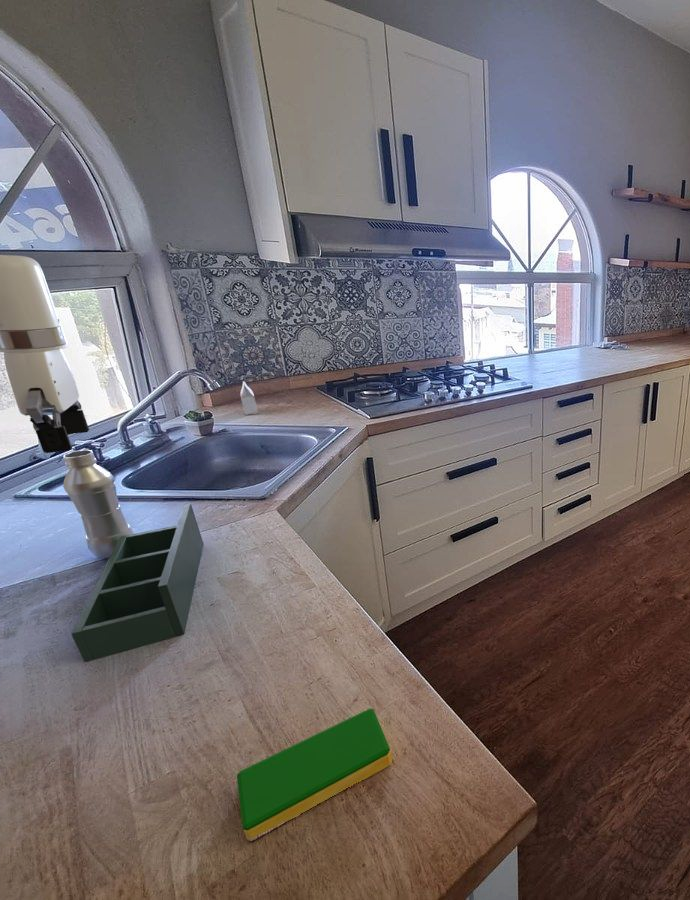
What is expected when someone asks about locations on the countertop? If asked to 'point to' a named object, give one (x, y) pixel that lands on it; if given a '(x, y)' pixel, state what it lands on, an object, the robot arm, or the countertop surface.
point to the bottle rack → (142, 590)
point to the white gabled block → (248, 400)
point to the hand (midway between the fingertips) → (68, 441)
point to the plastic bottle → (95, 502)
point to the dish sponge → (311, 772)
